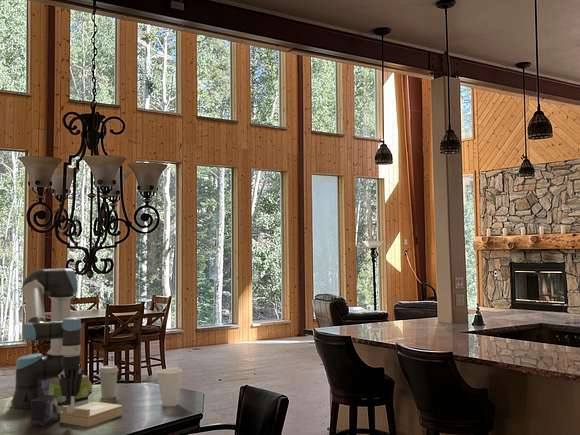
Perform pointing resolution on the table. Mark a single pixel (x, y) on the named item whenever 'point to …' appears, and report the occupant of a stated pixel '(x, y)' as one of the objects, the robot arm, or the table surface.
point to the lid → (91, 409)
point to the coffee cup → (108, 381)
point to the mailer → (90, 418)
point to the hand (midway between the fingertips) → (70, 412)
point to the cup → (169, 385)
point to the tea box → (56, 391)
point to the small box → (44, 410)
